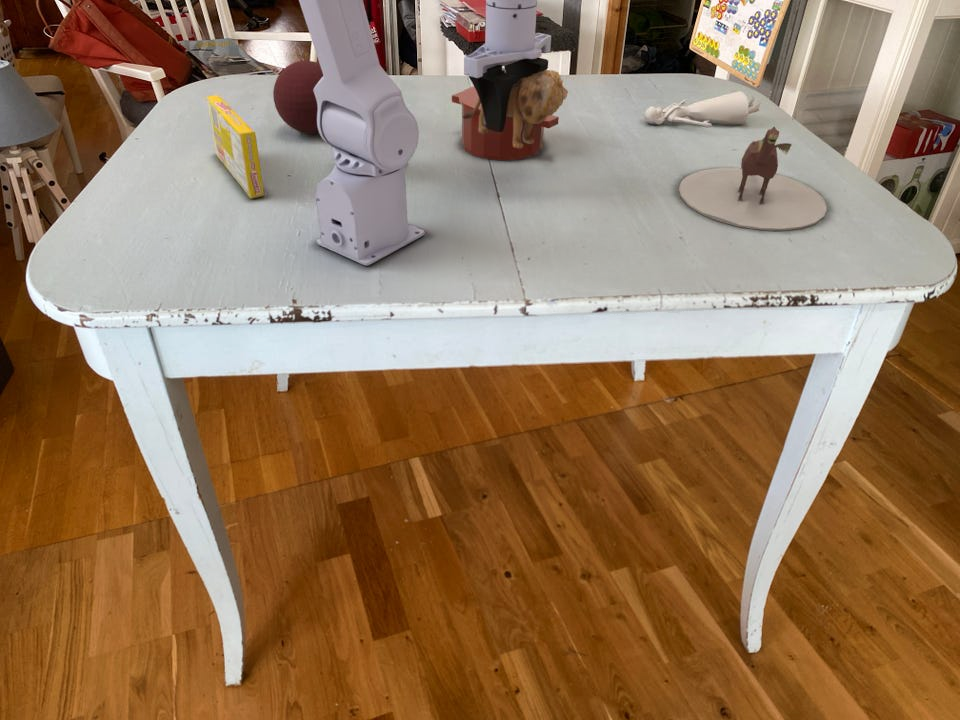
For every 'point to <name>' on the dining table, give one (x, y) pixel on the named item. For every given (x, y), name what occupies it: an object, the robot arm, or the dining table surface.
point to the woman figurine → (706, 111)
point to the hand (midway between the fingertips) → (506, 124)
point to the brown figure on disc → (754, 192)
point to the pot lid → (470, 98)
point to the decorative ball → (298, 95)
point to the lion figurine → (529, 104)
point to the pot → (500, 137)
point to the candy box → (236, 146)
